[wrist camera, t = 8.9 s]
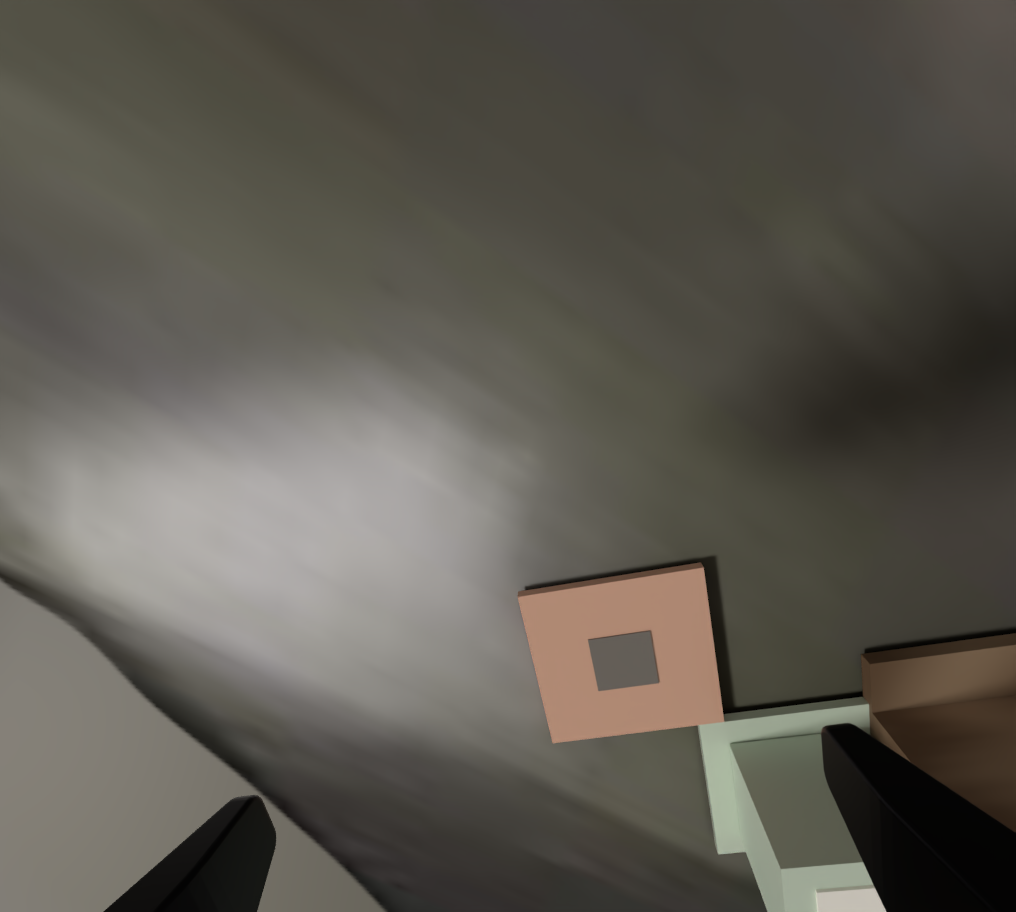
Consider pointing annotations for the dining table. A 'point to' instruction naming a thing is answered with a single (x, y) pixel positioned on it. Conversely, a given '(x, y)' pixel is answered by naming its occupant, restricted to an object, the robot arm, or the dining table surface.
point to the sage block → (797, 829)
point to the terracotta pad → (624, 653)
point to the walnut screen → (951, 715)
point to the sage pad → (756, 729)
